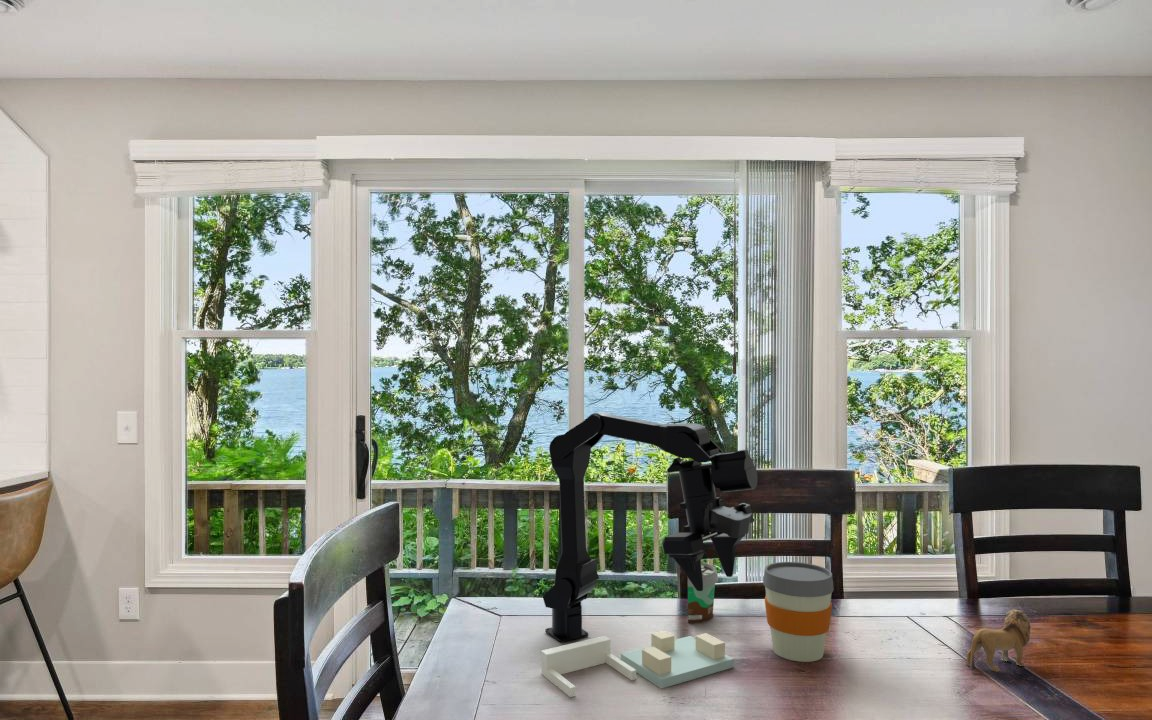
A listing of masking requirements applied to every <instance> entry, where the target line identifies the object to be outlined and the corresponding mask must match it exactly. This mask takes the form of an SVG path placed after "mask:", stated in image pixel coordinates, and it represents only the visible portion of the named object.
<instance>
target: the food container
mask: <svg viewBox="0 0 1152 720" xmlns="http://www.w3.org/2000/svg"><path fill="white" fill-rule="evenodd" d="M701 569H702V578H703V591H697V590H696V589H695V587H694V586H693V584H692V583H691V581H690V580H689V578H688V577H687V624H701V623H706V622H709V621H711V620H712V619H713V615H714V602H715V590H716V589H715V588H716V587H715V586H716V583H717V582H718V581H719V577H718V573H717V572H718V571H717V570H716V567H715V566H714V565H711V564H709V563H707V562H702V561H701ZM710 619H711V620H710Z"/></svg>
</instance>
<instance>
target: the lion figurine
mask: <svg viewBox="0 0 1152 720" xmlns="http://www.w3.org/2000/svg"><path fill="white" fill-rule="evenodd" d="M1030 635H1031V619H1030V618H1029V617H1028V616H1027V615H1026V613H1025V612H1024V611H1022V610H1019V609H1011V610H1010V611H1007V612H1006V613H1005V618H1004V623H1003V627H1001V628H999V629H991V628H990V629H989V628H981V629H978V630H975V632H974V634H973V639H972V642H971V646H970V650H969V651H968V652H967V653H966V661H965V665H966V666H967V667H969V670H971V671H973V670H975V654H977V653H978V652H979V651H980V649H981V648H983V651H984V653H985V655H986V660H985V662H986V664H987V665H988V667H989V668H990V669H991V671H993V672H996V673H999V672H1000V668H999V667H998V666H995V664H994V662H993V661H994V658H995V654H996V651H1000V652H1001V661H1002V662H1005V661H1006V663H1007V661H1008V662H1010V659H1009V652H1008V651H1009V650H1012V649H1014V651H1015V664H1016V666H1017V665H1019V666H1018V667H1020V665H1021V666H1024V667H1025V664H1024V663H1023V662H1022V660H1023V655H1024V647H1025V646H1026V645H1028V644H1029V641H1030Z"/></svg>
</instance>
